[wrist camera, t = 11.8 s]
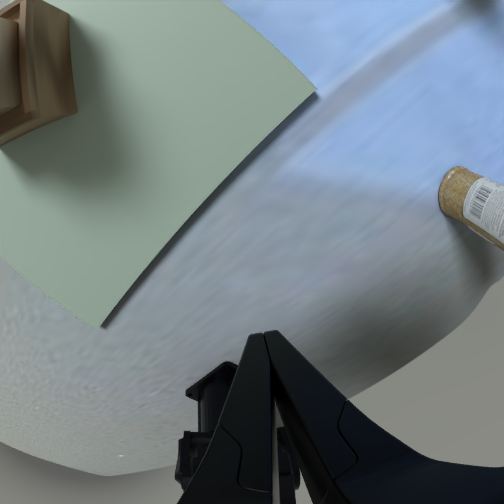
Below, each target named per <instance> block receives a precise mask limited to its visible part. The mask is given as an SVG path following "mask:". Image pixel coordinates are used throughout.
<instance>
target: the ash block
mask: <svg viewBox="0 0 504 504" xmlns="http://www.w3.org/2000/svg"><path fill="white" fill-rule="evenodd" d="M20 105H22V104H21V96H20V87H19V76H18V59H17V22H16V21H12V20H8V19H5V18H1V17H0V117H1V116H2V115H4V114H6V113H8V112H9V111H11V110H13V109H15V108H17V107H18V106H20Z"/></svg>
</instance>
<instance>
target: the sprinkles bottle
mask: <svg viewBox="0 0 504 504" xmlns="http://www.w3.org/2000/svg"><path fill="white" fill-rule="evenodd" d="M439 203H440V207H441V209H442V211H443V212H444V213H445V214H446V215H448V216H450V217H454V218H455V219H457V220H458V221H460V222H462V223H463V224H465V225H466V226H468V227H469V228H470V229H471V230H472V231H474V232H475V233H477V234H478V235H480V236H481V237H483V238H484V239H486V240H487V241H488V242H490V243H491V244H493V245H494V246H497V247H499V248H500V249H501V250H503V251H504V185H502V184H500V183H498V182H496V181H494V180H491V179H489V178H486V177H483V176H480V175H478V174H475V173H473V172H471V171H469V170H468V169H467V168H464V167H462V166H457V167H454V168H452V169H451V170H449V171H448V172H447V173H446V175H445V176H444V178H443V180H442V182H441V185H440V189H439Z"/></svg>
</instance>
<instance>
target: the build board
mask: <svg viewBox="0 0 504 504" xmlns="http://www.w3.org/2000/svg"><path fill="white" fill-rule="evenodd" d="M13 1H15V0H11V1H10V3H12V2H13ZM43 1H45V2H47V3H49V4H51V5H53V6H55V7H57V8H59V9H61V10H63V11H65V12H67V13H68V14H69V33H70V50H71V62H72V72H73V81H74V89H75V97H76V104H77V110H78V113H75V114H72V115H70V116H67V117H64V118H62V119H59V120H57V121H54V122H52V123H50V124H47V125H45V126H42V127H40V128H38V129H36V130H33V131H31V132H29V133H27V134H25V135H23V136H21V137H18V138H16V139H14V140H12V141H10V142H8V143H6V144H5V145H3V146H1V147H0V257H1V258H2V259H3V260H4V261H6V262H7V263H8V264H9V265H10V266H11V267H12V268H13V269H15V270H16V271H17V272H18V273H19V274H20V275H22V276H23V277H24V278H25V279H26V280H28V281H29V282H30V283H31V284H33V285H34V286H35V287H36V288H38V289H39V290H40V291H41V292H43V293H44V294H45V295H46V296H48V297H49V298H50V299H52V300H53V301H54V302H56V303H57V304H58V305H60V306H61V307H63V308H64V309H65V310H67V311H68V312H69V313H71V314H72V315H74V316H75V317H77V318H78V319H79V320H81V321H82V322H84V323H85V324H87V325H88V326H90V327H91V328H93V329H94V330H96V331H97V329H98V328H99V327H100V325H101V324H102V323H103V321H104V320H105V319H106V317H107V316H108V315H109V313H110V312H111V311H112V309H113V308H114V307H115V306H116V304H117V303H118V302H119V300H120V299H121V298H122V297H123V295H124V294H125V293H126V292H127V290H128V289H129V288H130V287H131V285H132V284H133V283H134V282H135V280H136V279H137V278H138V277H139V275H140V274H141V273H142V272H143V271H144V269H145V268H146V267H147V266H148V265H149V263H150V262H151V261H152V260H153V259H154V257H155V256H156V255H157V254H158V253H159V251H160V250H161V249H162V248H163V247H164V246H165V244H166V243H167V242H168V241H169V240H170V239H171V237H172V236H173V235H174V234H175V233H176V232H177V231H178V229H179V228H180V227H181V226H182V225H183V224H184V223H185V221H186V220H187V219H188V218H189V217H190V216H191V215H192V214H193V213H194V211H195V210H196V209H197V208H198V207H199V206H200V205H201V204H202V203H203V202H204V200H205V199H206V198H207V197H208V196H209V195H210V194H211V193H212V192H213V191H214V190H215V189H216V187H217V186H218V185H219V184H220V183H221V182H222V181H223V180H224V179H225V178H226V177H227V176H228V175H229V174H230V173H231V172H232V171H233V170H234V169H235V167H236V166H237V165H238V164H239V163H240V162H241V161H242V160H243V159H244V158H245V157H246V156H247V155H248V154H249V153H250V152H251V151H252V150H253V149H254V148H255V147H256V146H257V145H258V144H259V143H260V142H261V141H262V140H263V139H264V138H265V137H266V136H267V135H268V134H269V133H270V132H271V131H272V130H273V129H274V128H275V127H277V126H278V125H279V124H280V123H281V122H282V121H283V120H284V119H285V118H286V117H287V116H288V115H289V114H290V113H291V112H292V111H293V110H294V109H296V108H297V107H298V106H299V105H300V104H301V103H302V102H303V101H304V100H305V99H306V98H307V97H309V96H310V95H311V94H312V93H313V92H314V91H315V90H316V89H317V88H316V87H315V86H314V85H313V84H312V83H311V82H310V80H309V79H308V78H307V77H306V76H305V75H304V74H303V73H302V72H301V71H300V70H299V69H298V68H297V67H296V66H295V65H294V64H293V63H292V62H291V61H290V60H289V59H288V58H287V57H286V56H284V55H283V54H282V53H281V52H280V51H279V50H278V49H277V48H276V47H275V46H274V45H273V44H272V43H270V42H269V41H268V40H267V39H266V38H265V37H264V36H263V35H261V34H260V33H259V32H258V31H257V30H256V29H254V28H253V27H252V26H251V25H250V24H249V23H247V22H246V21H245V20H244V19H242V18H241V17H240V16H239V15H237V14H236V13H235V12H234V11H232V10H231V9H230V8H229V7H227V6H226V5H225V4H223V3H222V2H221V1H219V0H43ZM10 3H9V4H10Z"/></svg>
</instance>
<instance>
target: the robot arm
mask: <svg viewBox="0 0 504 504" xmlns="http://www.w3.org/2000/svg"><path fill="white" fill-rule="evenodd" d="M186 396H187V397H189V398H191V399H193V400H196V401H198V432H190V431H184V437H183V438H182V439H179V448H178V460H177V465H176V470H175V480H176V481H177V482H179V483H180V484H181V487H182V489H183V491H184V493H183V494H182V496H181V498H180V500H179V501H178V503H177V504H296V498H295V490H298V489H299V486H300V471H301V473H302V476H303V479H304V482H305V484H306V487H307V489H308V492H309V495H310V497H311V500H312V503H313V504H504V467H482V466H472V465H464V464H457V463H450V462H444V461H438V460H434V459H431V458H428V457H426V456H424V455H422V454H420V453H418V452H416V451H415V450H413V449H412V448H410V447H409V446H407V445H406V444H404V443H403V442H401V441H400V440H398V439H397V438H395V437H394V436H392V435H391V434H389V433H388V432H387V431H385V430H384V429H382V428H381V427H380V426H378V425H377V424H376V423H374V422H373V421H371V420H370V419H369V418H368V417H367V416H366V415H364V414H363V413H362V412H361V411H360V410H359V409H358V408H356V407H355V406H354V405H353V404H352V403H351V402H350V401H349V400H347V398H346V397H345V396H344V395H343V394H342V393H341V392H340V391H338V390H337V389H336V388H335V387H334V386H333V385H332V384H331V383H330V382H329V381H328V380H327V379H326V378H325V377H324V376H323V375H322V374H321V373H320V372H319V371H318V370H317V369H316V368H315V367H314V366H313V365H312V364H311V363H310V362H309V361H308V360H307V359H306V358H305V357H304V356H303V355H302V354H301V353H300V352H299V351H298V350H297V349H296V348H295V347H294V346H293V345H292V344H291V343H290V342H289V341H288V340H287V339H286V338H285V337H284V336H283V335H282V334H281V333H280V332H279V331H277V330H273V331H267V332H264V335H263V333H255V334H250V335H249V337H248V339H247V342H246V345H245V348H244V351H243V354H242V357H241V360H240V362H239V365H238V367H237V366H236V365H234V364H232V363H230V362H223V363H222V364H220V365H219V366H218V367H217V368H215V369H214V370H213V371H211V372H210V373H209V374H207V375H206V376H205V377H203V378H202V379H201V380H199V381H198V382H197V383H195V384H194V385H192V386H191V387H190V388H188V389H187V390H186ZM274 397H275V399H274ZM346 400H347V401H346ZM275 401H276V404H277V407H278V410H279V413H280V415H281V418H282V421H283V424H284V427H278V428H276V413H275ZM299 468H300V469H299Z"/></svg>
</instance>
